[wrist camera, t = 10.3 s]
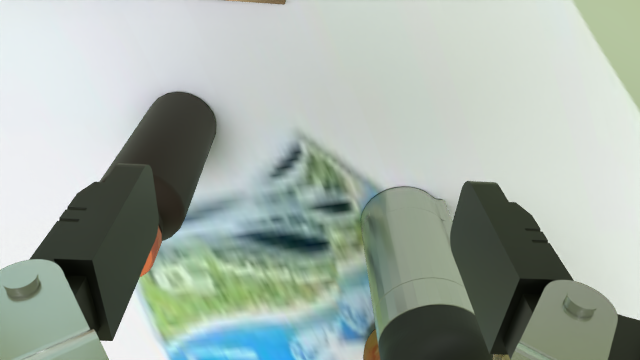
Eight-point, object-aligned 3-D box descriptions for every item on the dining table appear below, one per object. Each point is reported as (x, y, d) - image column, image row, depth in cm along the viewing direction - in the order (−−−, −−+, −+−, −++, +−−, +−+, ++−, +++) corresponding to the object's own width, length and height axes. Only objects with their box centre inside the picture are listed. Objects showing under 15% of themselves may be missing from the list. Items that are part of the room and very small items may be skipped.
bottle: (183, 77, 46) (111, 195, 29) (230, 128, 49) (189, 262, 32) (134, 115, 48) (40, 246, 31) (182, 162, 51) (120, 304, 34)
